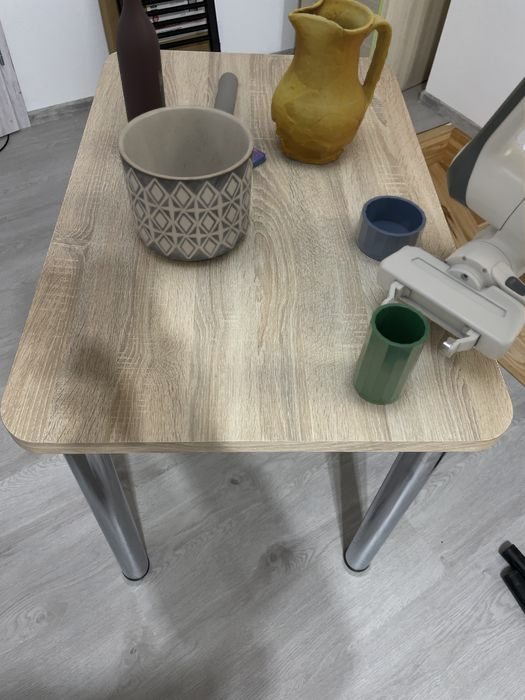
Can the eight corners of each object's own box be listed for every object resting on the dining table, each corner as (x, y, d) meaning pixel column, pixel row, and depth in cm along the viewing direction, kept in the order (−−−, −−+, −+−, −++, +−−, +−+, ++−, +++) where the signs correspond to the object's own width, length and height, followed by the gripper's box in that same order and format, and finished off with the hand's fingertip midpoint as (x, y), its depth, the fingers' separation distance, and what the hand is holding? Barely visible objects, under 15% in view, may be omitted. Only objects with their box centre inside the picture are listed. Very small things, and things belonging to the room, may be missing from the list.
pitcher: (279, 114, 113) (295, -21, 93) (365, 135, 111) (402, 2, 91) (256, 161, 103) (269, 20, 83) (351, 185, 101) (388, 47, 81)
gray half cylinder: (238, 80, 122) (238, 72, 121) (231, 126, 110) (231, 117, 109) (219, 79, 122) (219, 71, 121) (211, 124, 110) (210, 116, 109)
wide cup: (420, 230, 92) (430, 203, 88) (412, 269, 86) (421, 242, 82) (362, 216, 94) (368, 189, 89) (349, 253, 88) (355, 226, 83)
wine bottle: (174, 161, 102) (156, -24, 78) (136, 166, 100) (107, -21, 76) (165, 141, 106) (146, -40, 82) (129, 146, 104) (99, -38, 80)
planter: (199, 182, 98) (194, 92, 85) (274, 233, 90) (281, 143, 77) (110, 227, 89) (90, 134, 76) (185, 289, 81) (177, 197, 68)
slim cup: (407, 370, 73) (432, 311, 64) (399, 410, 69) (425, 354, 60) (358, 357, 75) (376, 296, 65) (347, 395, 70) (365, 337, 61)
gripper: (415, 225, 77) (355, 270, 71) (548, 302, 68) (492, 361, 62) (404, 258, 82) (347, 303, 76) (526, 334, 73) (473, 391, 67)
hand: (413, 330), depth 69 cm, fingers open, 8 cm apart
